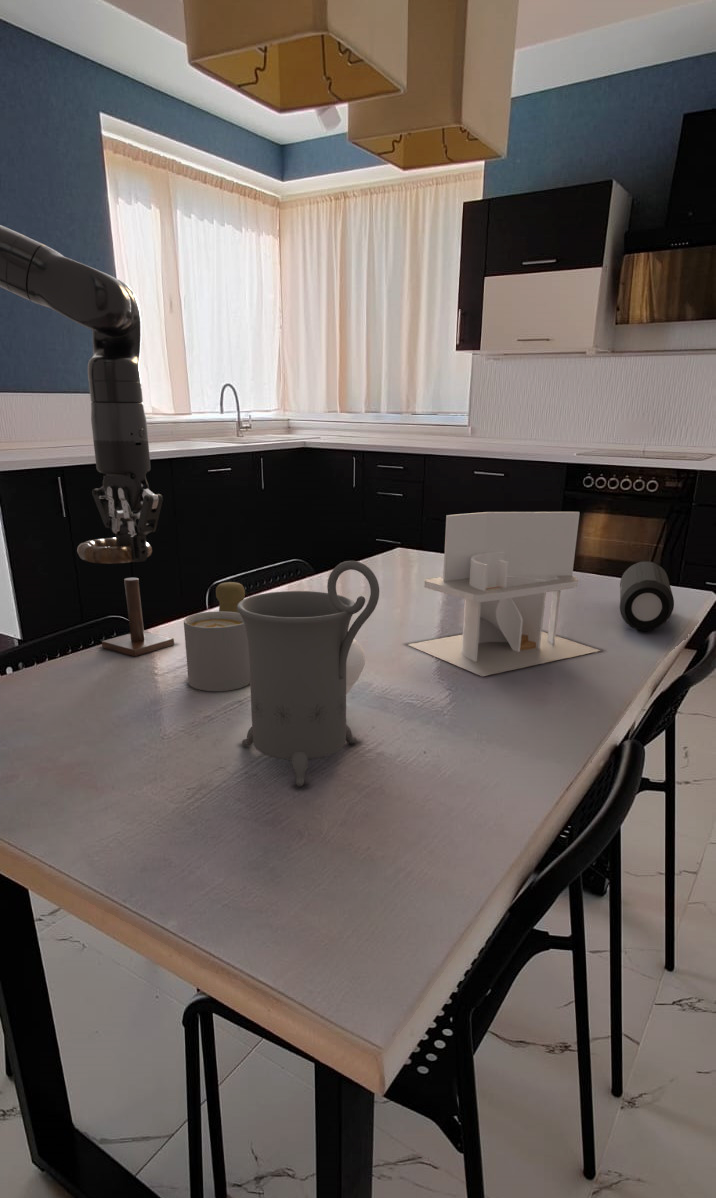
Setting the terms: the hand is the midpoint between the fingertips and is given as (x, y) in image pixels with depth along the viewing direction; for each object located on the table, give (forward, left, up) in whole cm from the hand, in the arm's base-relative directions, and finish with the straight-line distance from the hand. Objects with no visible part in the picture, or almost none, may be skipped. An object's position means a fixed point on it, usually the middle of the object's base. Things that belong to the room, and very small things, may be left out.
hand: (133, 559), depth 116 cm
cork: (-3, +23, -19) cm, 30 cm away
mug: (+40, -9, -19) cm, 45 cm away
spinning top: (+33, +8, -19) cm, 39 cm away
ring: (-4, 0, +1) cm, 4 cm away
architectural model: (+39, +50, -19) cm, 66 cm away
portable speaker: (+53, +87, -19) cm, 103 cm away
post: (-15, +11, -19) cm, 26 cm away
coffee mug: (+10, +8, -19) cm, 23 cm away
